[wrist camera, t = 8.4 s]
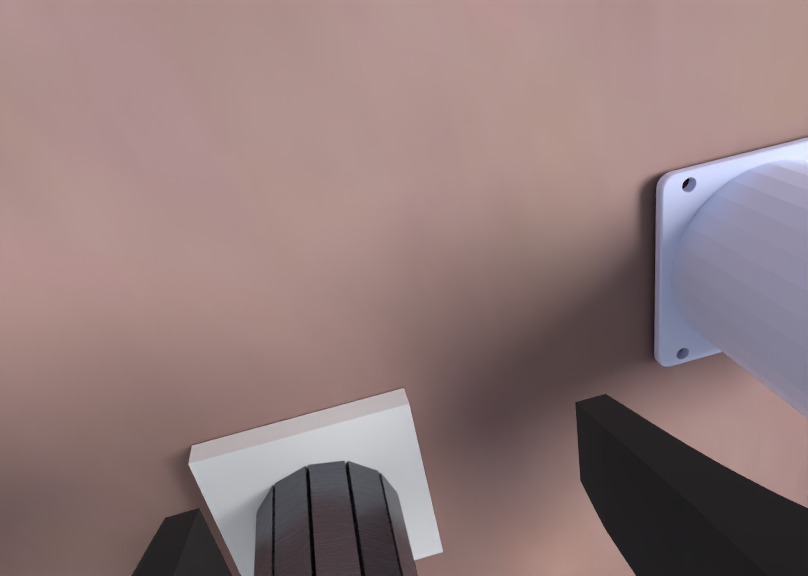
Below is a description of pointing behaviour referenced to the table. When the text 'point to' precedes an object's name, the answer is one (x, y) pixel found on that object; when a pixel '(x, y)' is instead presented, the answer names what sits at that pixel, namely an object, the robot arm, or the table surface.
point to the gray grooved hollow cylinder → (332, 525)
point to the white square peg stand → (312, 444)
